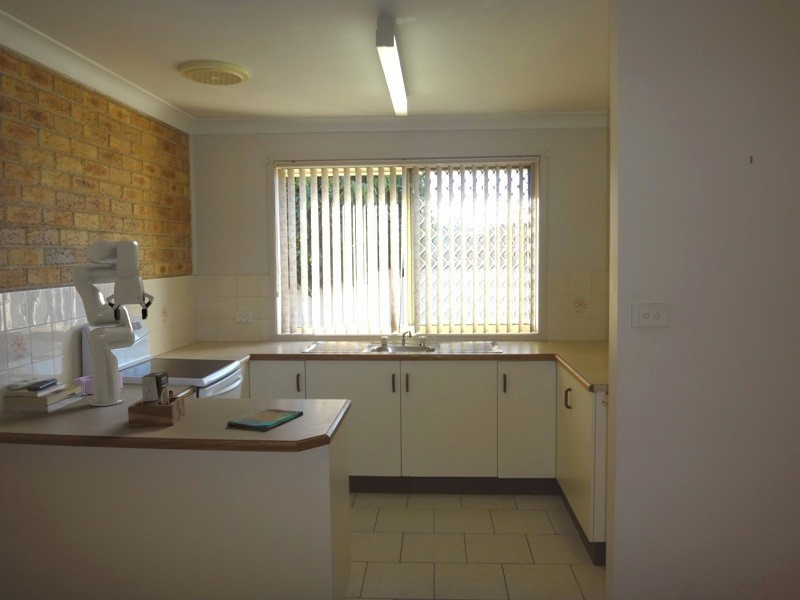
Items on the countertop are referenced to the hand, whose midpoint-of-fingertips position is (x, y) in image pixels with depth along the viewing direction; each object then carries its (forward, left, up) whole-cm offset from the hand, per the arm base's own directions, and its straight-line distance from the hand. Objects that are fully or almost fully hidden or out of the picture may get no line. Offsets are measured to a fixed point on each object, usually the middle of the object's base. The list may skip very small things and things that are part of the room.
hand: (131, 319), depth 230 cm
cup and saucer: (-12, +7, -37) cm, 39 cm away
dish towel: (+17, +51, -37) cm, 65 cm away
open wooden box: (+10, +11, -36) cm, 39 cm away
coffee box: (+10, +11, -36) cm, 38 cm away
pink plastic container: (-51, -34, -37) cm, 72 cm away
